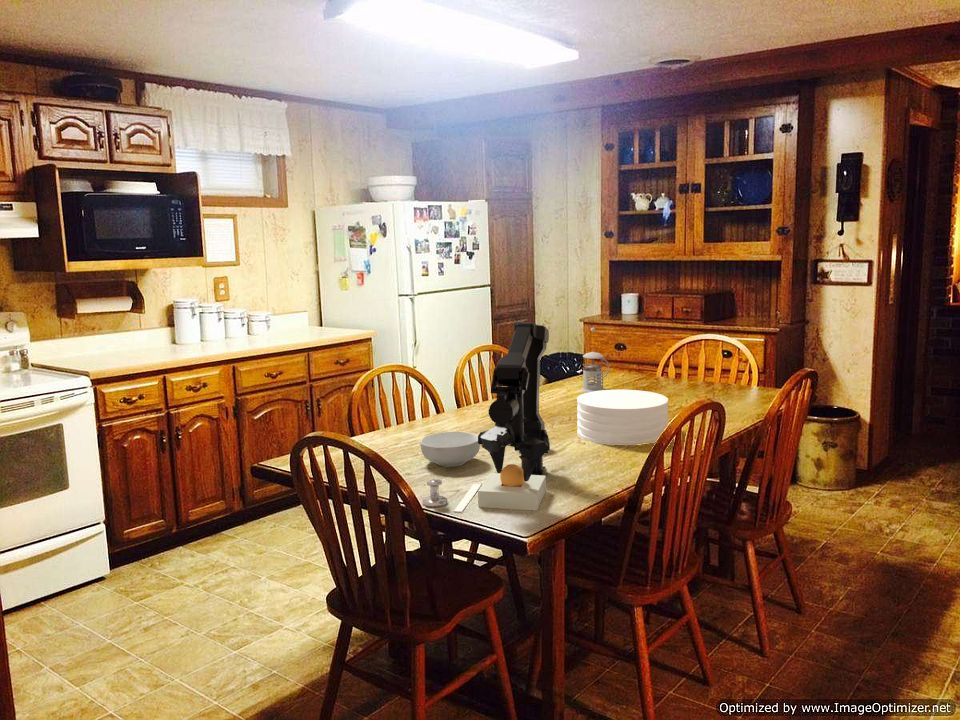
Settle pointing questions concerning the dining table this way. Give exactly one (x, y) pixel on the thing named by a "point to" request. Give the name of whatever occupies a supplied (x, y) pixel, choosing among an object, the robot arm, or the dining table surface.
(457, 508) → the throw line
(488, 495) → the block
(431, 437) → the cereal bowl
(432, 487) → the tee
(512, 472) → the ball
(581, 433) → the plate stack
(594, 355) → the french press
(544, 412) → the dining table surface
